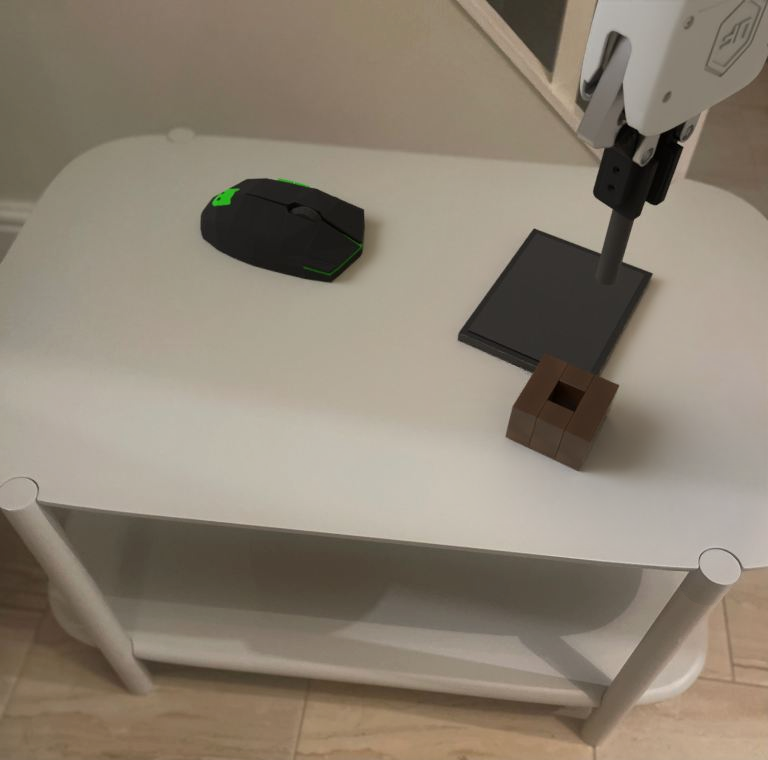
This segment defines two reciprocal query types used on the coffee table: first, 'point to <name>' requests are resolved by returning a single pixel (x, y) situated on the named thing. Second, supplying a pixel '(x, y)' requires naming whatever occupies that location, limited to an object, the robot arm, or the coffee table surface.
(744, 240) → the coffee table surface
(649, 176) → the robot arm
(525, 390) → the holder
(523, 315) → the tablet
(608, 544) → the coffee table surface
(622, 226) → the stylus
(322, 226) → the computer mouse
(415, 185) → the coffee table surface
